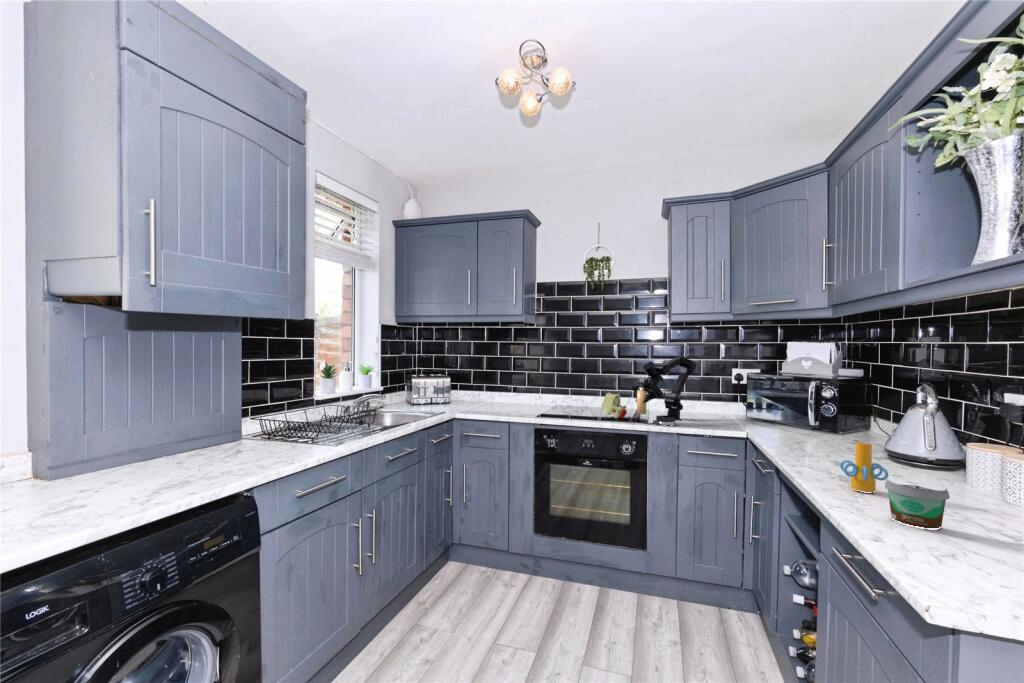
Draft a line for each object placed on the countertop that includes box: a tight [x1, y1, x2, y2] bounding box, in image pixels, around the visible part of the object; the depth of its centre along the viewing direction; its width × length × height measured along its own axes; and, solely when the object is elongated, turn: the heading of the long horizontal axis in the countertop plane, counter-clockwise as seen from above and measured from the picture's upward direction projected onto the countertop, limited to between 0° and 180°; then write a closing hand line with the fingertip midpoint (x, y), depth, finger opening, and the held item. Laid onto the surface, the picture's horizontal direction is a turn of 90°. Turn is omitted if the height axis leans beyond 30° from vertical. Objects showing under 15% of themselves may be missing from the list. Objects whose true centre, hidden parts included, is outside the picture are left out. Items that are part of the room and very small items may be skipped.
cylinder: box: [839, 440, 889, 492], centre depth 136 cm, size 12×10×15 cm
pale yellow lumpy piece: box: [599, 392, 628, 419], centre depth 265 cm, size 8×17×20 cm, turn 53°
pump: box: [636, 387, 647, 415], centre depth 248 cm, size 5×5×15 cm
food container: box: [883, 478, 951, 528], centre depth 110 cm, size 12×6×10 cm, turn 52°
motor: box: [652, 414, 676, 426], centre depth 246 cm, size 12×10×4 cm
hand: (639, 402), depth 247 cm, fingers closed on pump, 5 cm apart
